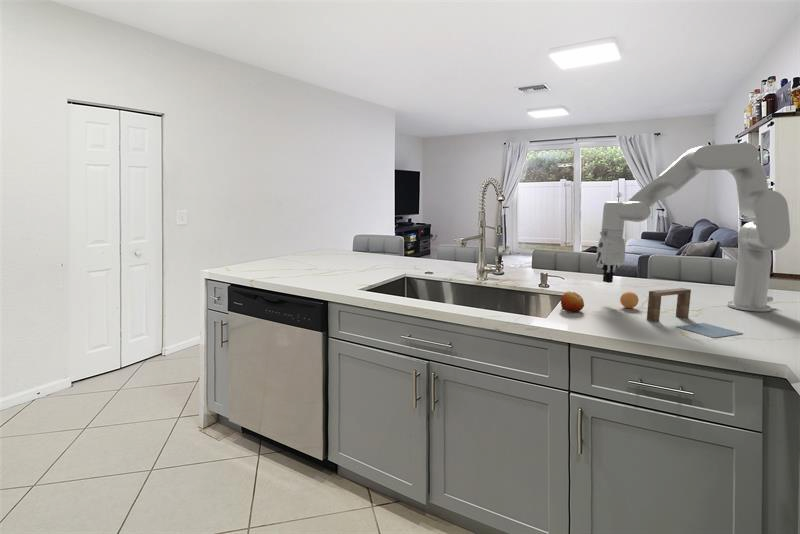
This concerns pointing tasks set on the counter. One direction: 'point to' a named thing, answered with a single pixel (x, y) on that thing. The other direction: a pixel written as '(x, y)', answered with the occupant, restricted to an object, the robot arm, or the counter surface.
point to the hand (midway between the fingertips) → (607, 282)
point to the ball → (629, 299)
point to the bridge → (655, 297)
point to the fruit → (572, 302)
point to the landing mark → (709, 330)
